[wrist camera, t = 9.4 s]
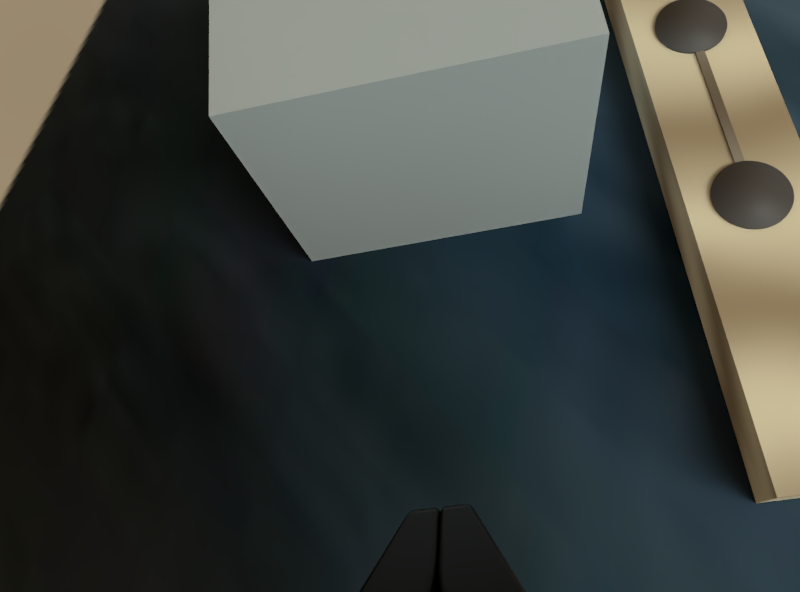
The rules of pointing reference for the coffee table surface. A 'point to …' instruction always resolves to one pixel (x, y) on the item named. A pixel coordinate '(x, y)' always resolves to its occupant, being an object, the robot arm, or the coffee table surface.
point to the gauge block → (408, 112)
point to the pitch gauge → (728, 208)
